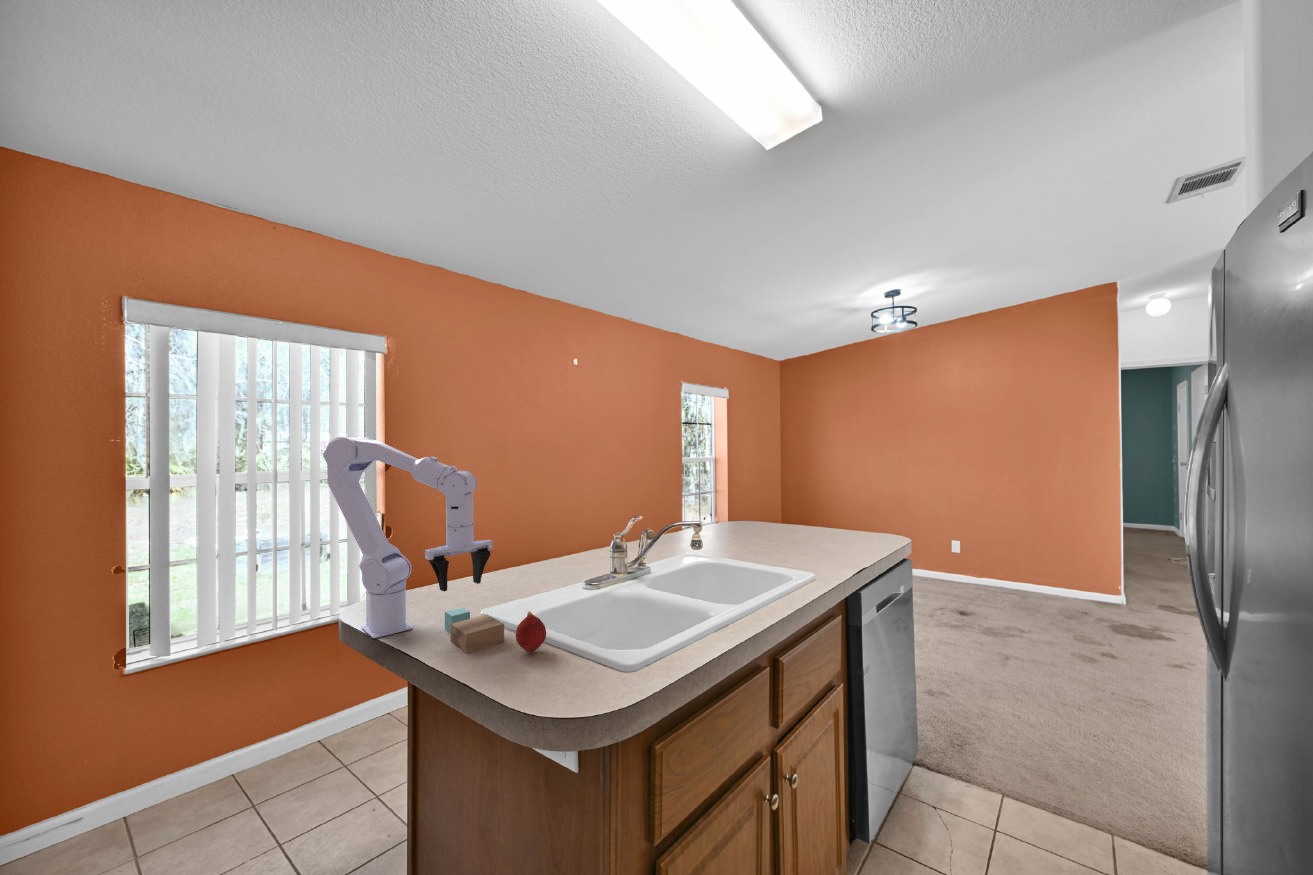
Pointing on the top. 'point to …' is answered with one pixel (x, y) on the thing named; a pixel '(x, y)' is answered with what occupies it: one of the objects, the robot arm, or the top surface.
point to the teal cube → (455, 617)
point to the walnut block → (477, 633)
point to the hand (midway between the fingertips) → (460, 586)
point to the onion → (530, 633)
